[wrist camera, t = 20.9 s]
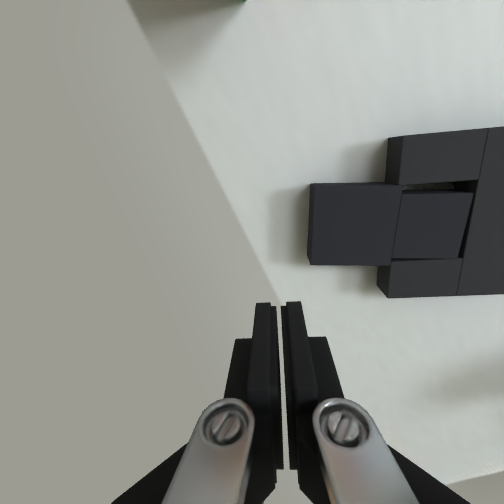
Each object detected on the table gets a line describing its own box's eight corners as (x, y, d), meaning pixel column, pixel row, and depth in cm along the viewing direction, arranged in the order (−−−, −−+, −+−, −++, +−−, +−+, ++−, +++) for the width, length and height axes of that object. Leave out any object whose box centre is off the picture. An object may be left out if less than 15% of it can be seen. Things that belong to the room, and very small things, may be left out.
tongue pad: (307, 254, 27) (310, 265, 24) (310, 183, 25) (314, 186, 22) (437, 255, 26) (455, 266, 23) (453, 181, 24) (476, 184, 21)
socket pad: (376, 285, 28) (387, 298, 25) (388, 137, 23) (403, 135, 20) (502, 279, 26) (527, 293, 24) (541, 124, 22) (579, 119, 19)
